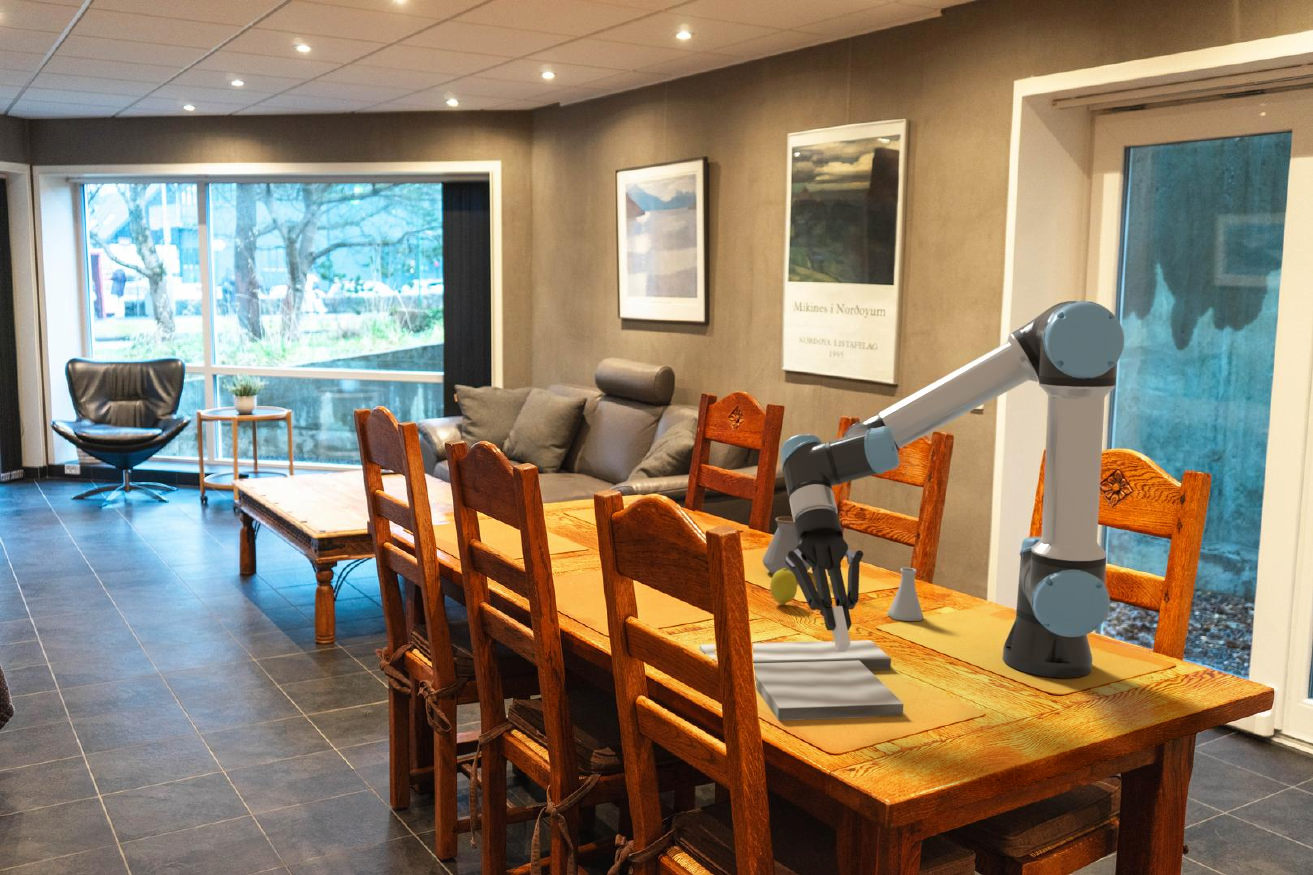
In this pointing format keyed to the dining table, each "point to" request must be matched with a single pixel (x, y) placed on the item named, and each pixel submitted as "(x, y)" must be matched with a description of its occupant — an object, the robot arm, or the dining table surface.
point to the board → (815, 653)
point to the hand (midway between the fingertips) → (843, 647)
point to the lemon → (783, 586)
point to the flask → (906, 599)
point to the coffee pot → (781, 546)
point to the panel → (824, 690)
